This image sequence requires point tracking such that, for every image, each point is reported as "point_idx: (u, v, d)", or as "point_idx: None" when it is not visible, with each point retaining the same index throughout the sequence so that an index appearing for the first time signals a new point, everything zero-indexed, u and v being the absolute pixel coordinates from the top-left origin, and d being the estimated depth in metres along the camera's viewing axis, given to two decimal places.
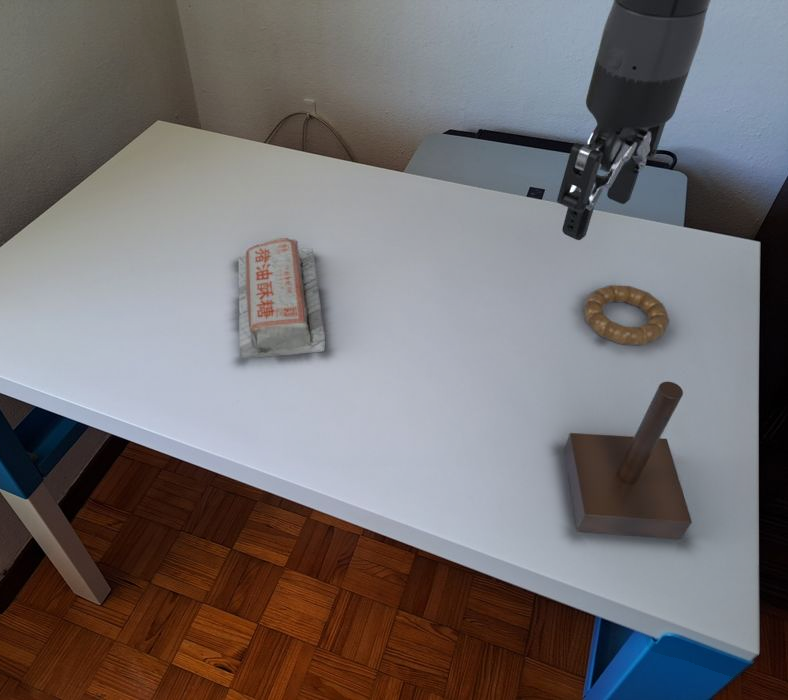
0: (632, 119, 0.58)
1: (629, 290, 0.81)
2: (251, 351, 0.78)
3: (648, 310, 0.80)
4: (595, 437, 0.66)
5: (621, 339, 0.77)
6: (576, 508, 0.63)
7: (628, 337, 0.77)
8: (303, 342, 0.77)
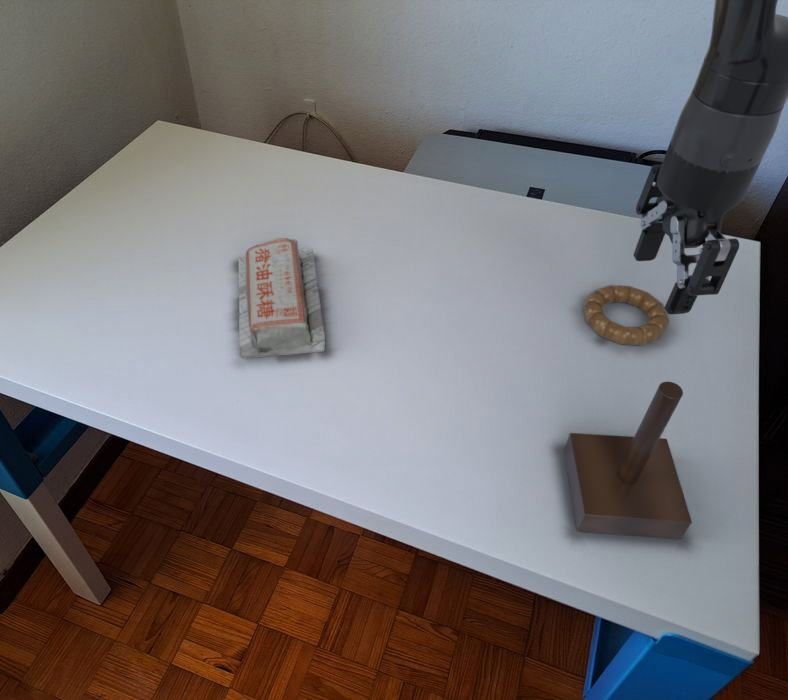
0: (738, 200, 0.61)
1: (629, 290, 0.81)
2: (251, 351, 0.78)
3: (648, 310, 0.80)
4: (595, 437, 0.66)
5: (621, 339, 0.77)
6: (576, 508, 0.63)
7: (628, 337, 0.77)
8: (303, 342, 0.77)
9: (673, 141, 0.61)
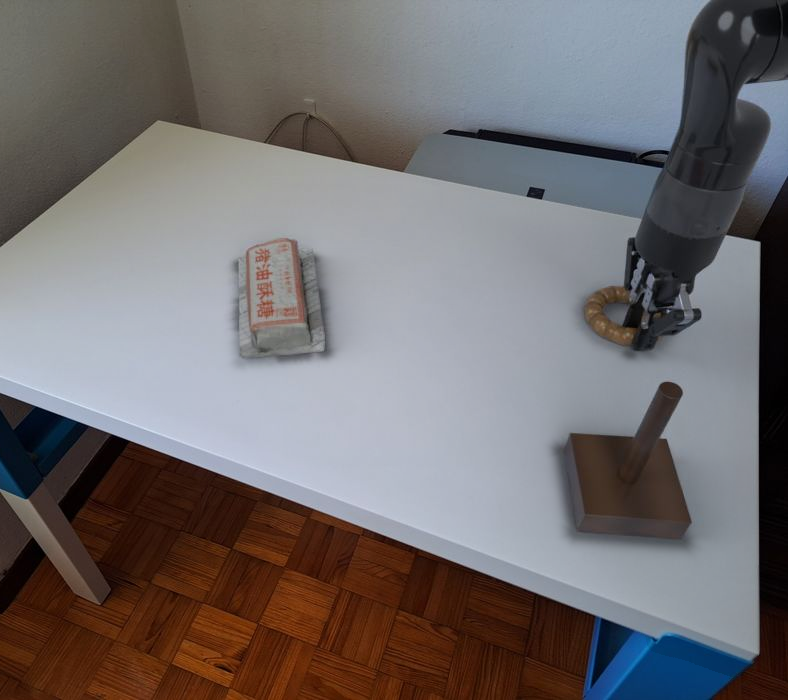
0: (709, 262, 0.66)
1: None
2: (251, 351, 0.78)
3: None
4: (595, 437, 0.66)
5: (621, 340, 0.77)
6: (576, 508, 0.63)
7: (628, 338, 0.77)
8: (303, 342, 0.77)
9: (648, 208, 0.66)
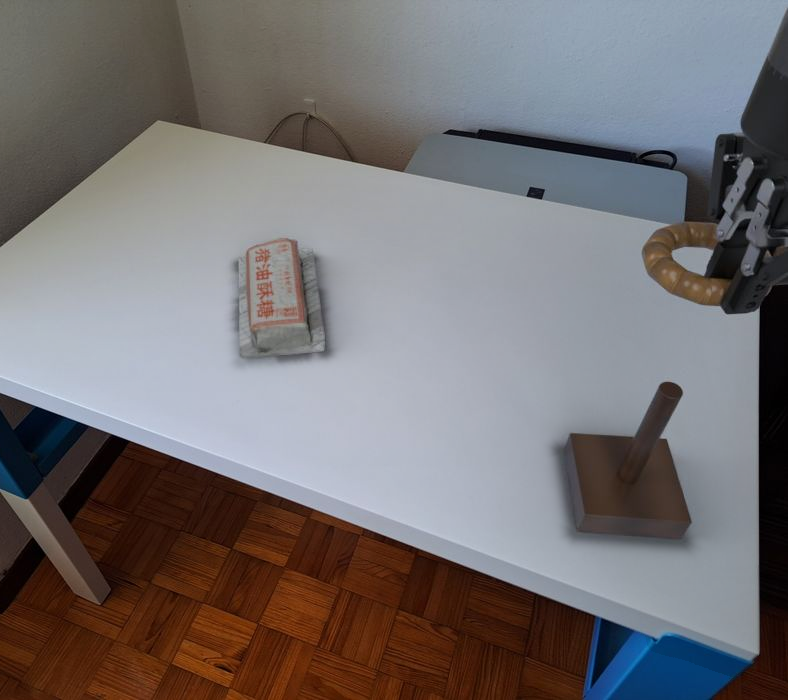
0: None
1: (712, 228, 0.54)
2: (251, 351, 0.78)
3: None
4: (595, 437, 0.66)
5: (704, 296, 0.49)
6: (576, 508, 0.63)
7: (716, 294, 0.49)
8: (303, 342, 0.77)
9: (774, 55, 0.38)
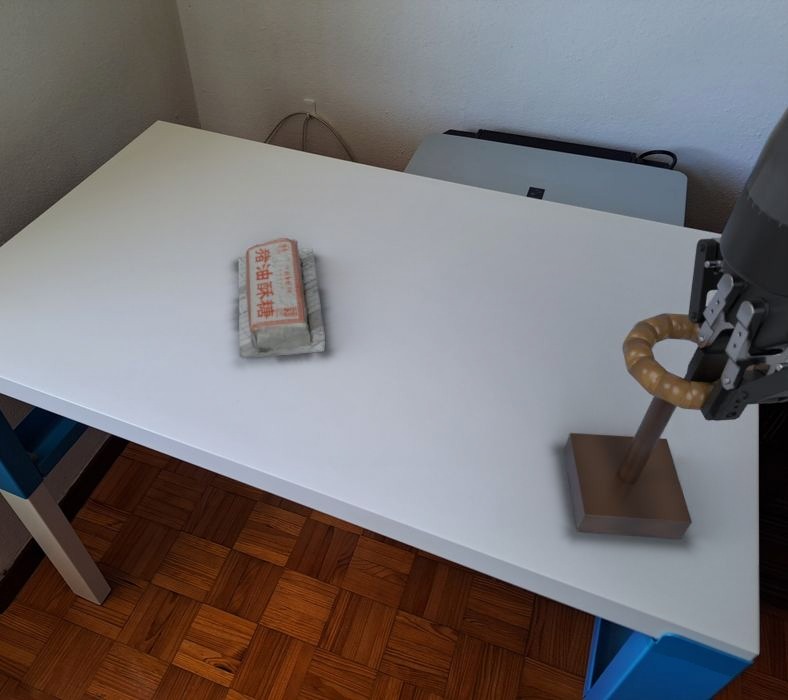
0: None
1: None
2: (251, 351, 0.78)
3: None
4: (595, 437, 0.66)
5: (684, 402, 0.48)
6: (576, 508, 0.63)
7: (696, 400, 0.48)
8: (303, 342, 0.77)
9: (753, 187, 0.37)
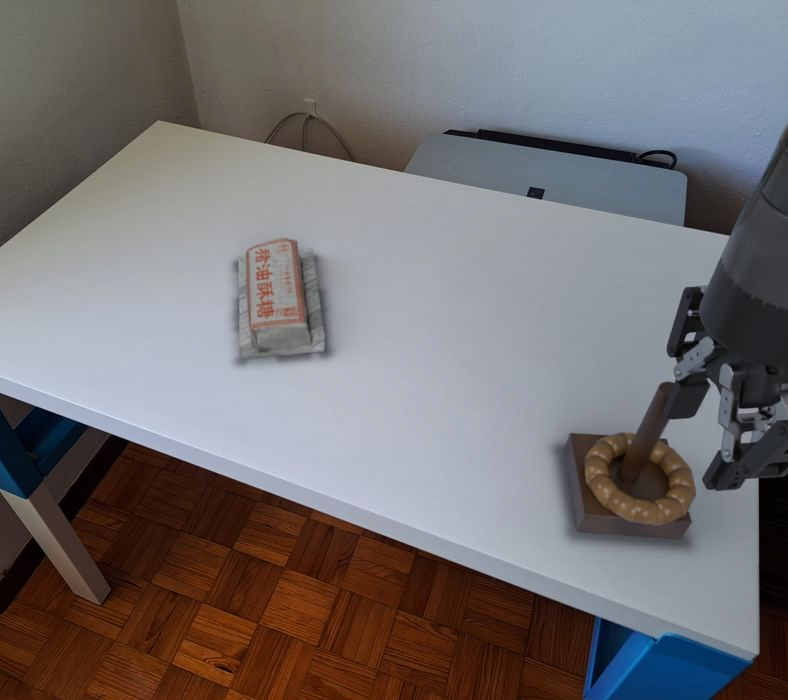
0: None
1: None
2: (251, 351, 0.78)
3: (669, 474, 0.61)
4: (595, 437, 0.66)
5: (628, 516, 0.58)
6: (576, 508, 0.63)
7: (638, 516, 0.58)
8: (303, 342, 0.77)
9: (727, 261, 0.40)
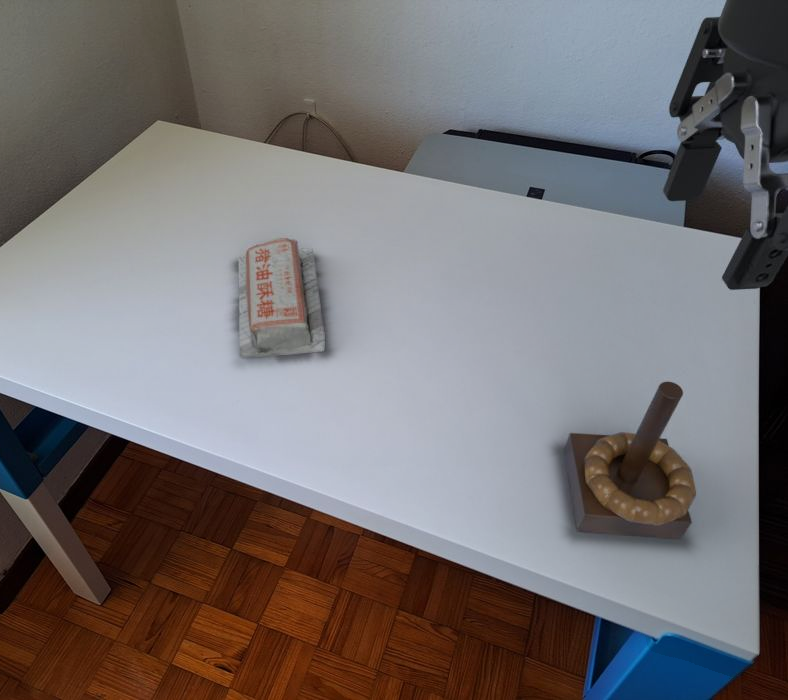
0: None
1: None
2: (251, 351, 0.78)
3: (669, 474, 0.61)
4: (595, 437, 0.66)
5: (628, 516, 0.58)
6: (576, 508, 0.63)
7: (638, 516, 0.58)
8: (303, 342, 0.77)
9: None
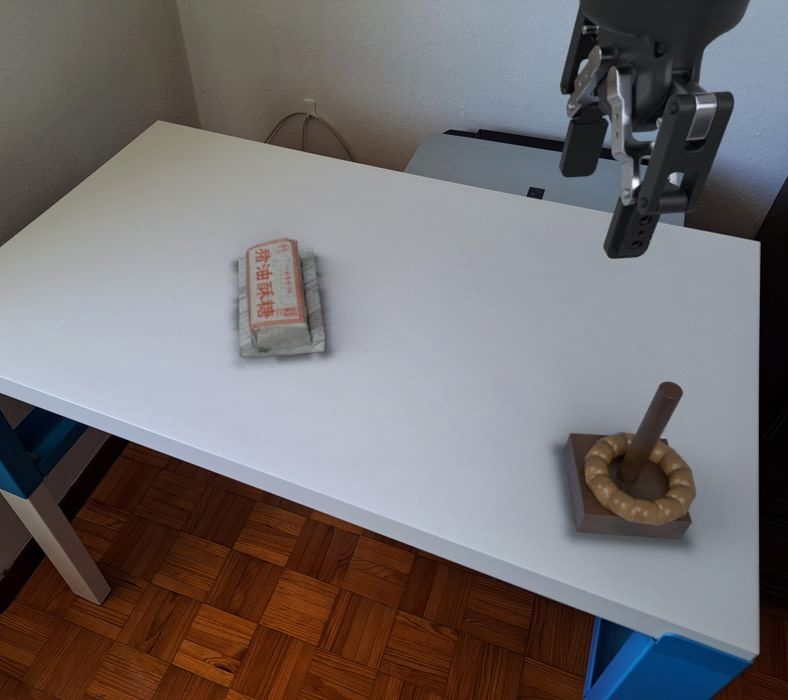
0: (732, 16, 0.31)
1: None
2: (251, 351, 0.78)
3: (669, 474, 0.61)
4: (595, 437, 0.66)
5: (628, 516, 0.58)
6: (576, 508, 0.63)
7: (638, 516, 0.58)
8: (303, 342, 0.77)
9: None
